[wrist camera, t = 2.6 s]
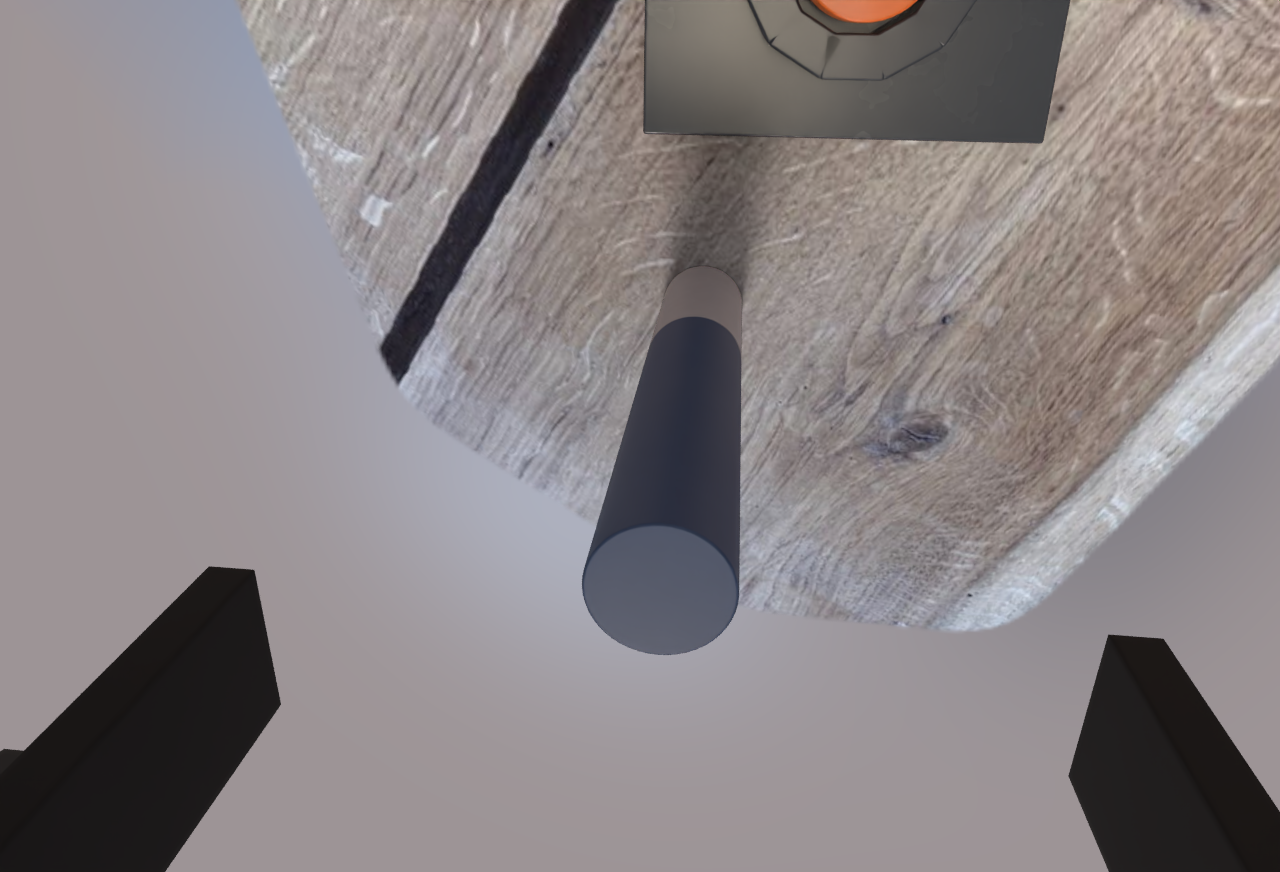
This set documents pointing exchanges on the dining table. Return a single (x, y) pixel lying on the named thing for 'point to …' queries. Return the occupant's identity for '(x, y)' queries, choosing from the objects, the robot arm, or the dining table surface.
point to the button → (863, 9)
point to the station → (852, 70)
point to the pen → (676, 481)
